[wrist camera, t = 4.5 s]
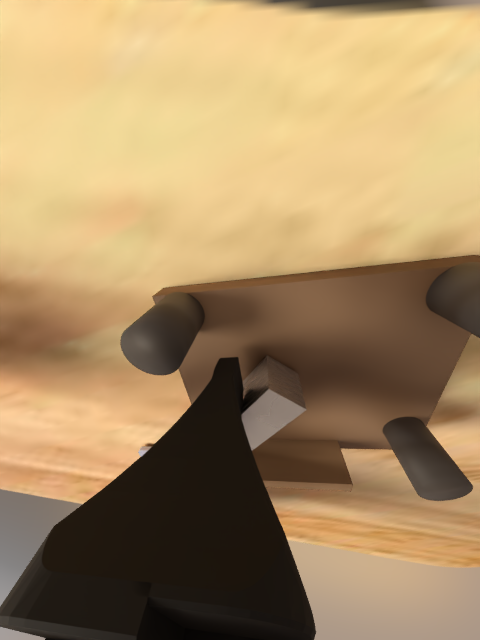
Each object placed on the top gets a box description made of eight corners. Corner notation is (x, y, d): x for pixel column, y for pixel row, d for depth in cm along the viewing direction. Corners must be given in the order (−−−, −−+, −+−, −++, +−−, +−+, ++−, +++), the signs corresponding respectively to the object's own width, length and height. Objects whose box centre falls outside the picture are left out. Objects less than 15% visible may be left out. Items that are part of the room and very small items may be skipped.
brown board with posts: (402, 431, 14) (455, 511, 10) (210, 430, 16) (194, 496, 12) (475, 252, 8) (654, 283, 4) (163, 286, 10) (107, 326, 6)
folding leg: (240, 425, 13) (236, 462, 11) (214, 412, 12) (205, 448, 10) (297, 373, 10) (306, 409, 8) (267, 355, 10) (268, 388, 8)
